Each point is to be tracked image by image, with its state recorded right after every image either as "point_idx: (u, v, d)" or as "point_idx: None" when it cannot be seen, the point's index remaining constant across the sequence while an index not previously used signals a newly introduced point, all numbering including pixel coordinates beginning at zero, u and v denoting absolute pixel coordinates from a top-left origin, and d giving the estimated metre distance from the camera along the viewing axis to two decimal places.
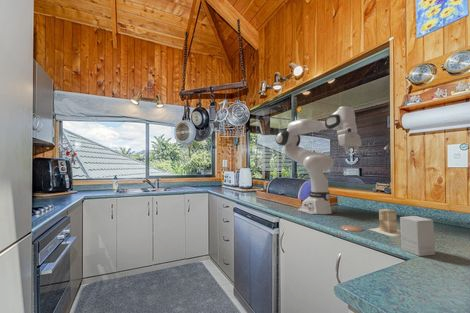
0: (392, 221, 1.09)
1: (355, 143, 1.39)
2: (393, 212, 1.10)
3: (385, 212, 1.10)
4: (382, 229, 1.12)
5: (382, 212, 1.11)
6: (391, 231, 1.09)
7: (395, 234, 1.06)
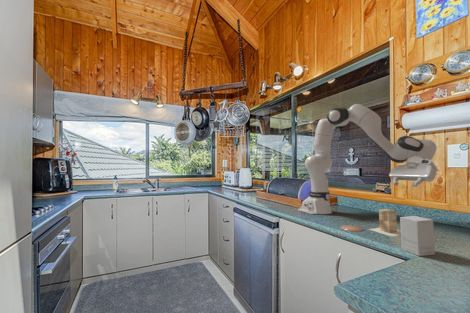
0: (392, 221, 1.09)
1: None
2: (393, 212, 1.10)
3: (385, 212, 1.10)
4: (382, 229, 1.12)
5: (382, 212, 1.11)
6: (391, 231, 1.09)
7: (395, 234, 1.06)
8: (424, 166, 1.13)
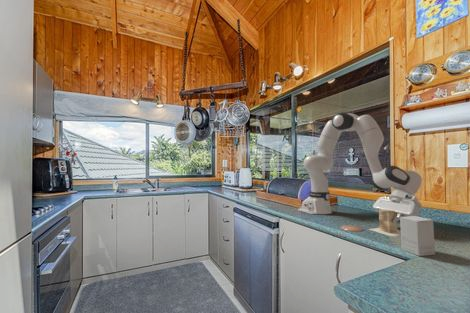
0: None
1: None
2: (393, 212, 1.10)
3: (385, 212, 1.10)
4: (382, 229, 1.12)
5: (382, 212, 1.12)
6: (391, 231, 1.09)
7: (395, 234, 1.06)
8: (407, 201, 1.08)
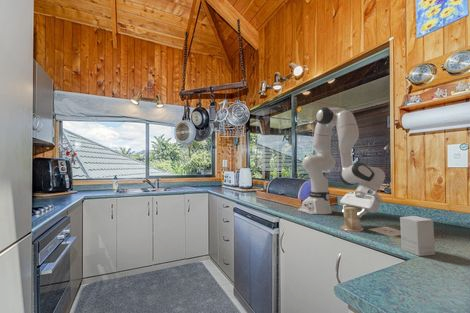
0: (355, 218, 1.15)
1: None
2: (356, 210, 1.15)
3: (348, 210, 1.15)
4: (346, 226, 1.17)
5: (346, 210, 1.17)
6: (354, 228, 1.14)
7: (395, 234, 1.06)
8: (369, 196, 1.13)
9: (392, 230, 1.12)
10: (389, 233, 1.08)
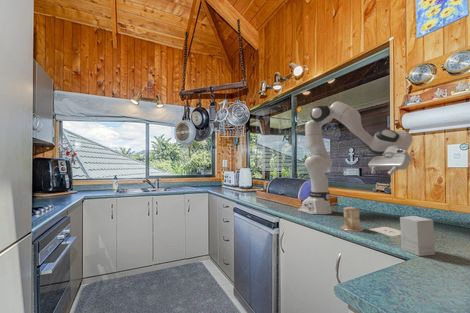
0: (355, 219, 1.15)
1: None
2: (356, 210, 1.15)
3: (348, 210, 1.15)
4: (346, 226, 1.17)
5: (346, 210, 1.17)
6: (354, 228, 1.14)
7: (395, 234, 1.06)
8: (399, 155, 1.19)
9: (392, 230, 1.12)
10: (389, 233, 1.08)
